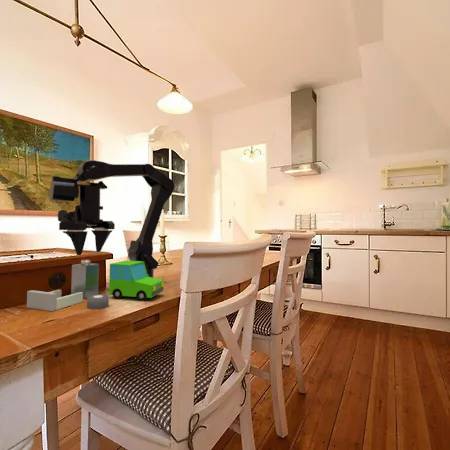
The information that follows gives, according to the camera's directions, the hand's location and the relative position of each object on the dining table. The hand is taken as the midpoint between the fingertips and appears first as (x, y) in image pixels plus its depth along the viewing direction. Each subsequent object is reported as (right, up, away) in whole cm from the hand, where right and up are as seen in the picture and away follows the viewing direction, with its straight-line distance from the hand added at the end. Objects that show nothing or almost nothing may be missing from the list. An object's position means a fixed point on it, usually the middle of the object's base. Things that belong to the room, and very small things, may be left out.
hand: (89, 253), depth 84 cm
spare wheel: (+9, -12, -14) cm, 20 cm away
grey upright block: (+1, -12, -4) cm, 13 cm away
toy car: (+16, -13, -3) cm, 21 cm away
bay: (-2, -12, -12) cm, 17 cm away
